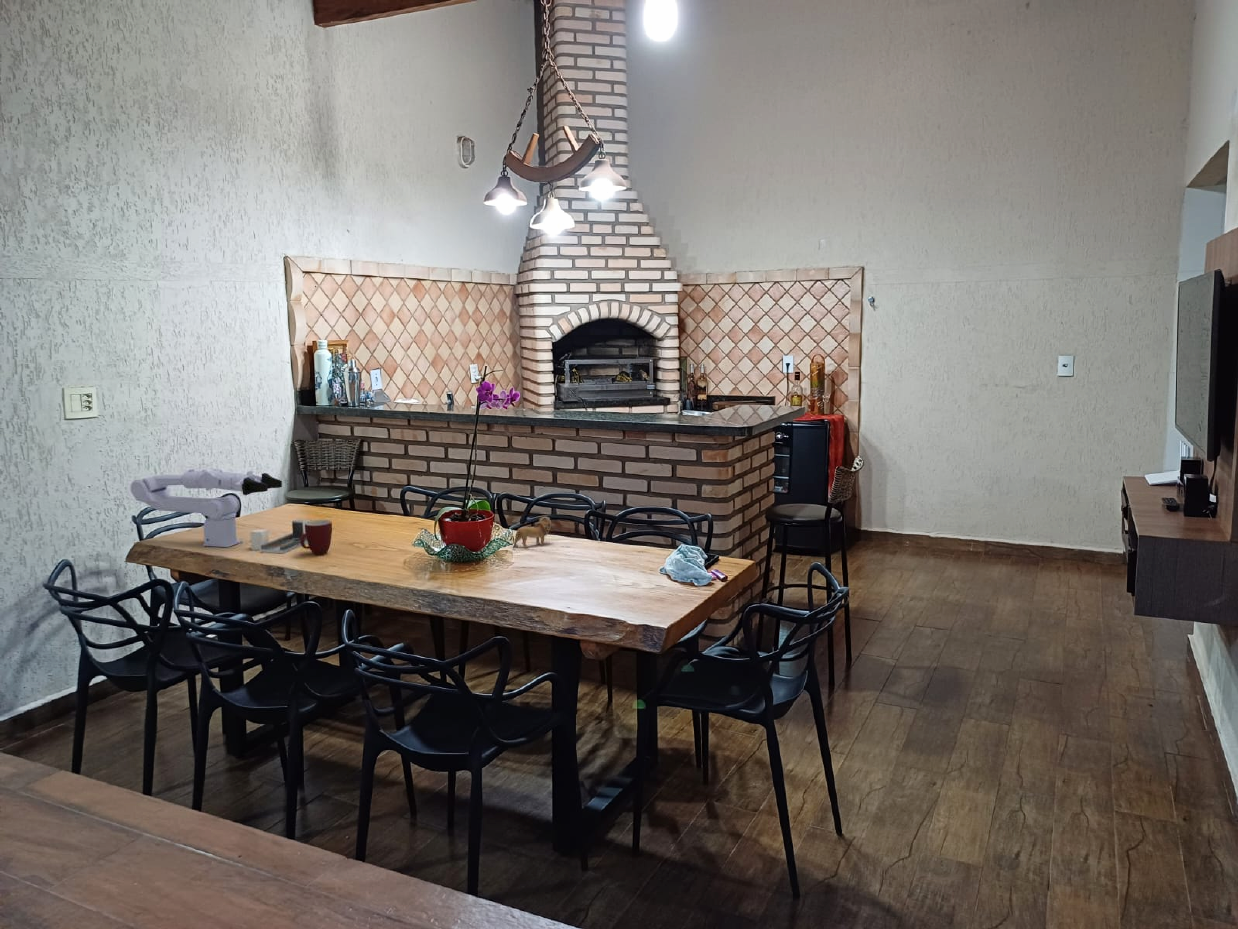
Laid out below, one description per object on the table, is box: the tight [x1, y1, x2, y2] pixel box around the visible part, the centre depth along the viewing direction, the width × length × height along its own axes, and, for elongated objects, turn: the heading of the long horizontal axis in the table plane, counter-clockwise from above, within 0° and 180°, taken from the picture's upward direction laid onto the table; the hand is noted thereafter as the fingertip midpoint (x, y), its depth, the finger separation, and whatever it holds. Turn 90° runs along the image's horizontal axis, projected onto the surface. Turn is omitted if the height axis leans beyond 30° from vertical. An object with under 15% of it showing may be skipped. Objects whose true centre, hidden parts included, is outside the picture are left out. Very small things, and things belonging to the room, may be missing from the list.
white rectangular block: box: [250, 528, 270, 551], centre depth 284 cm, size 4×4×6 cm
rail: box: [260, 518, 310, 554], centre depth 288 cm, size 8×19×7 cm, turn 168°
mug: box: [300, 519, 333, 556], centre depth 276 cm, size 11×8×10 cm
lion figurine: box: [512, 516, 552, 549], centre depth 287 cm, size 15×5×9 cm, turn 129°
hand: (274, 486), depth 283 cm, fingers open, 7 cm apart
